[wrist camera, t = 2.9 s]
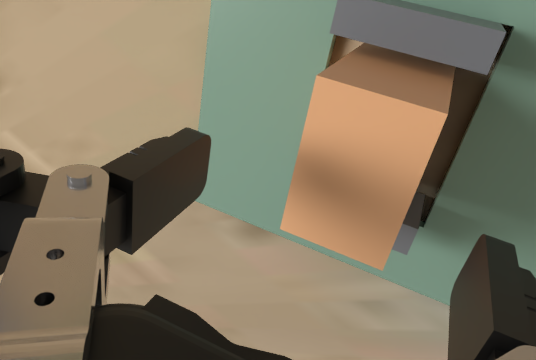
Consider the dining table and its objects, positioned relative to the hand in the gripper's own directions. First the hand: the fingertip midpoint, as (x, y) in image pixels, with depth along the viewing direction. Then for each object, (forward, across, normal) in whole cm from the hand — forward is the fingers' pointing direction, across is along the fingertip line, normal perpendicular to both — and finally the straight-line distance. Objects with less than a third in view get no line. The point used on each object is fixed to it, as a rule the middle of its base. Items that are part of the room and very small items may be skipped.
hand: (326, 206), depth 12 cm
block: (+10, 0, 0) cm, 10 cm away
